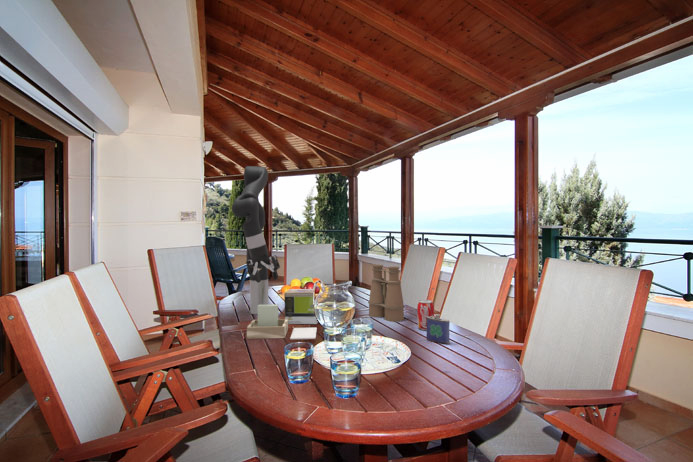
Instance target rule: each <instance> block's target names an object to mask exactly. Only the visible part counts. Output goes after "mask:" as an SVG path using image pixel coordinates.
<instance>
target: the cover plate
mask: <svg viewBox="0 0 693 462" xmlns="http://www.w3.org/2000/svg"><path fill="white" fill-rule="evenodd" d="M278 319H279V304H268V305H258V314H257V320H258V327H269V326H278Z"/></svg>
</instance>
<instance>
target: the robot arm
mask: <svg viewBox="0 0 693 462" xmlns="http://www.w3.org/2000/svg"><path fill="white" fill-rule="evenodd" d="M243 171H244V172H243V179H244V180H243V181H244V188H243V190H242V192H241V194H240V195H239V196H238V197H236V198H235V200H234V201H233V203H232V205H231V211H232V213H233V215H234V216H235V217H237V218H244V217H245V222H243V223H242V231H243V234H244V237H245V242H246V261H245V264H246V266H247V268H246V269H247V271H248V274H249V309H250V311H249V312H250V315H258V305H269V271H268V270H270V271H271V275H272V278H273V280H274V281H277V280H278V279H279V274H278V270H279V269H280V268H281V266H280V263H279V260H278V258H277V255H276V254H273V255H272V256H270V255H269V250H268V247H267V243H266V240H265V237H264V235H263V232H262V231H263V229H264V227H265V225H266V212H265V209H264V207H263V206H262V204H261V203H260V201H259V200H258V198H259V195H260V194H261V192H262V190H264V188H265V187H266V186H267V183H268V181H269V171H268V168H266V167H265V166H255V165H252V166H251V165H250V166H249V165H247V166H245V167H244V170H243Z"/></svg>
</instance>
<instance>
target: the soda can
mask: <svg viewBox="0 0 693 462" xmlns="http://www.w3.org/2000/svg"><path fill="white" fill-rule="evenodd" d="M416 312H417V314H416V315H417V318H416V319H417V327H418V328H419V329H420V330H421V331H426V332H427V317H430V316H432V317H433V316H434V317H435V306H434V303H433V300H430V299H420V300H418V303H417V311H416Z"/></svg>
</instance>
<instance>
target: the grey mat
mask: <svg viewBox="0 0 693 462" xmlns="http://www.w3.org/2000/svg"><path fill="white" fill-rule="evenodd" d="M317 330H318V328H317V327H294V328H293V329H292V332H291V335H290V337H289V339H290V340H316V338H317V332H318V331H317Z"/></svg>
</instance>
